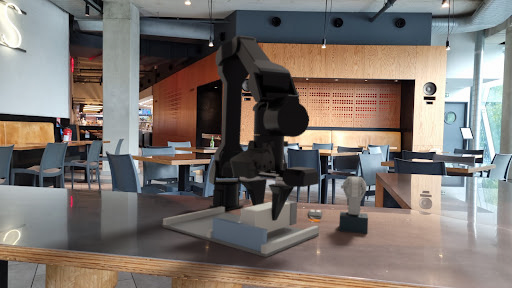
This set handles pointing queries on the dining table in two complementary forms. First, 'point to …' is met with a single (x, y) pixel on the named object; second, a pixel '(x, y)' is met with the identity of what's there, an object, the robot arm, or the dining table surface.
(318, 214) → the key chain
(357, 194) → the bust statue
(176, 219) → the grey rimmed tray
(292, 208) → the cream rectangular block
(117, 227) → the dining table surface
